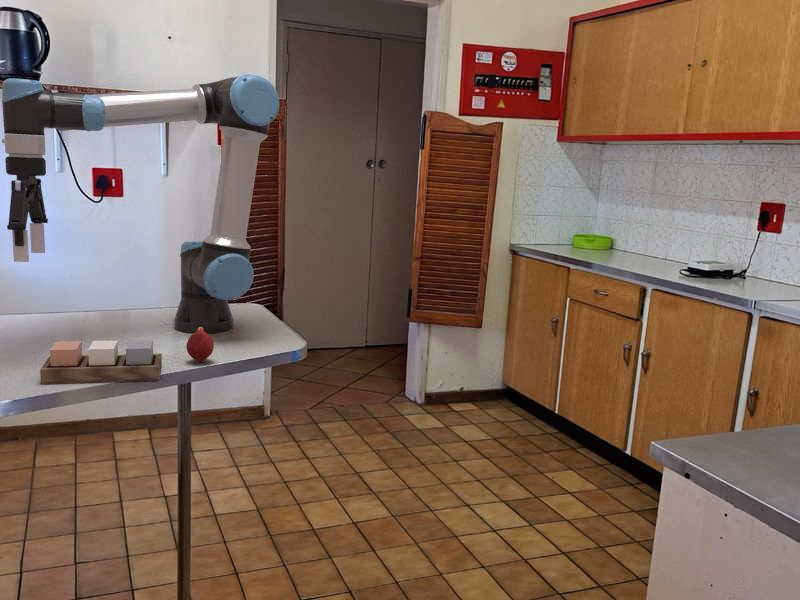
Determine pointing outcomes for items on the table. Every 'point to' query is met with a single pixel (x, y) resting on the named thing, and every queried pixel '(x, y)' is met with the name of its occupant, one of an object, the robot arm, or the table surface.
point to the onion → (200, 345)
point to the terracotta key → (66, 353)
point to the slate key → (139, 352)
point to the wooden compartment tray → (101, 371)
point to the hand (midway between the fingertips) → (30, 257)
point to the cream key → (103, 352)
